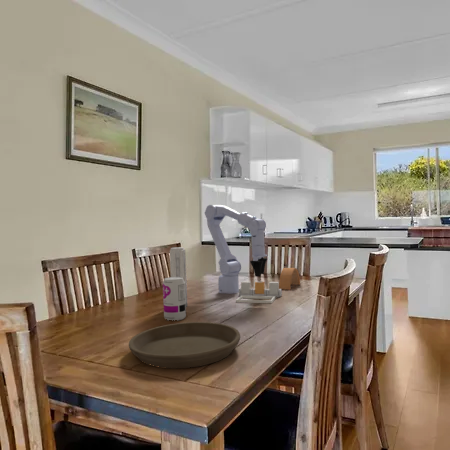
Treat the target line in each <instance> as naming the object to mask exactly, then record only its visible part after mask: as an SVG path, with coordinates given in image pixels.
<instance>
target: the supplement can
mask: <svg viewBox="0 0 450 450" xmlns="http://www.w3.org/2000/svg"><path fill="white" fill-rule="evenodd" d="M162 296H163V299H162V301H163V318H164V319H165V320H166V319H167V320H166V321H169V320H172V321H173V320H174V321H173V322H175V320H177V321H181V320H184V319H185V318H186V317H187V307H186V300H185V281H184V279H183V277H171V276H169V277H165V278H163V281H162Z"/></svg>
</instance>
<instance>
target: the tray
mask: <svg viewBox="0 0 450 450" xmlns="http://www.w3.org/2000/svg"><path fill="white" fill-rule="evenodd" d="M259 299H260V300H259ZM264 299H265V300H264ZM275 300H276V297H275V296H240V297H238V298H236V299H235V303H238V304H239V303H245V304H246V303H248V304H273V302H274V301H275Z"/></svg>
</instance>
